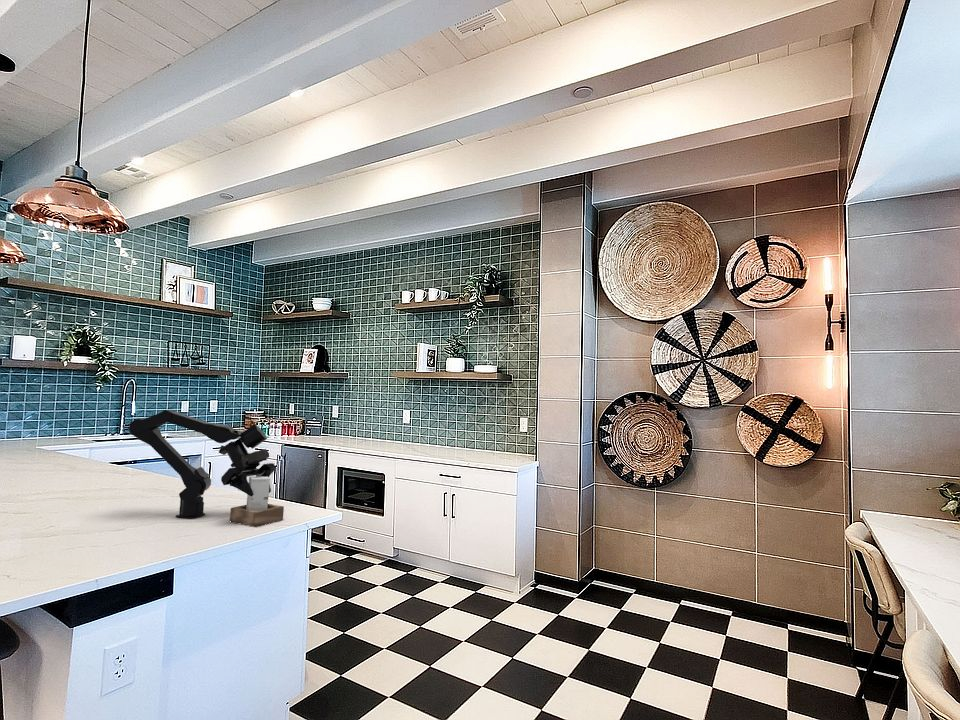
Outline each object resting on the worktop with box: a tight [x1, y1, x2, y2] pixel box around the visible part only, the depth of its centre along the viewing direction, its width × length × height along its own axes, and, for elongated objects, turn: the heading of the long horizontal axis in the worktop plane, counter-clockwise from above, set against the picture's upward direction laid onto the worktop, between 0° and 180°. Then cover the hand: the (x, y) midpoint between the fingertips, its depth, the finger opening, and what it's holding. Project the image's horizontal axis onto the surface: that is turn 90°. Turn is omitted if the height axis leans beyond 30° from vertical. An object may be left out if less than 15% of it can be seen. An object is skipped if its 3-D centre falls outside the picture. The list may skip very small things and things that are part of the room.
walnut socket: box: [229, 503, 285, 528], centre depth 179 cm, size 12×12×4 cm
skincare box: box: [245, 475, 271, 511], centre depth 179 cm, size 6×4×12 cm
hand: (261, 493), depth 178 cm, fingers closed on skincare box, 7 cm apart
